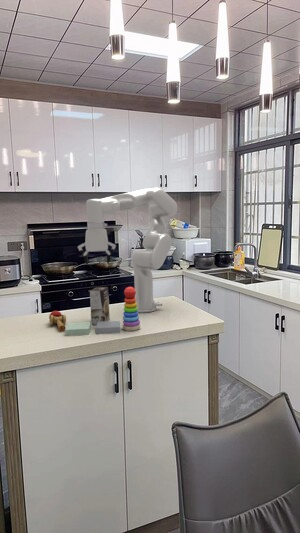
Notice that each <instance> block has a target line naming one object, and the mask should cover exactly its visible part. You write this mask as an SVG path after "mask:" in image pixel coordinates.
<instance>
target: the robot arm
mask: <svg viewBox="0 0 300 533" xmlns="http://www.w3.org/2000/svg"><path fill="white" fill-rule="evenodd" d="M85 204H86V220H87V222H86V223H87V224H86V225H87V229H86V231H85V242H84V243H83V242H82V243H81V244H79V245H78V246H77V249H78V251H79V253H81V255H83V259H84V264H85V265H88V264H89V256H88V254H89V252H94V253H95V252H105V253H106V263H107V264H110V262H111V254H112V253H114V251H115V249H116V246H117V245H116V244H115V243H112V242H110V241H109V238H108V233H107V229H106V227H108V223H105V218H104V216H115V215H117V214H118V213H119V212H121V211H123V212H124V211H131V210H135V209H139V208H143V207H147V206H148V212H149V216H150V220H151V222H150V226H149V228H148V230H147V232H146V234H145V236H144V238H143V240H142V248H144V249H138V250H135V251H134V252H133V253H132V255H131V264H132V268H133V278H134V279H133V280H134V289H135V291H136V294H135V296H134V298H136V303H137V306H136V307H137V308H138V309H137V311H138V313H152V312H155V311H156V310H157V307H162V306H163V302H160V301H155V300H154V285H153V284H154V283H153V281H154V279H153V272H152V270H158V269H160V268H161V267H162V266H163V264H164V263H165V260H166V258H167V256H168V255H169V252H170V250H171V247H172V238H171V236H170V234H169V233H166V229H167V224H166V222H165V219H164V218H165V217H173V216H175V215H176V214H177V212H178V204H177V202H176V201H175V199H173V198H172V197H171V196H170V195H169V194H168V193H167V192H166V191H165V190H163V189H161V188H160V187H150V188H149V187H147V188H142V189H137V190H133V191H129V192H124V193H120V194H116V195H112V196H107V197H103V198H90V199H87V200H86V203H85ZM109 246H110V247H111V249H110V250H109ZM84 247H85V250H83V248H84Z"/></svg>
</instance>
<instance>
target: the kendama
mask: <svg viewBox="0 0 300 533" xmlns="http://www.w3.org/2000/svg"><path fill="white" fill-rule="evenodd" d="M48 319H49V322H48V323H49V325H54V324H57V328H58V331H59V332H65V329H66V327H67V326H65V325H66V322H67V315H66V314H62V313H61V312H60V311H58V310H53V311H51V312H50V314H49V316H48Z"/></svg>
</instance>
